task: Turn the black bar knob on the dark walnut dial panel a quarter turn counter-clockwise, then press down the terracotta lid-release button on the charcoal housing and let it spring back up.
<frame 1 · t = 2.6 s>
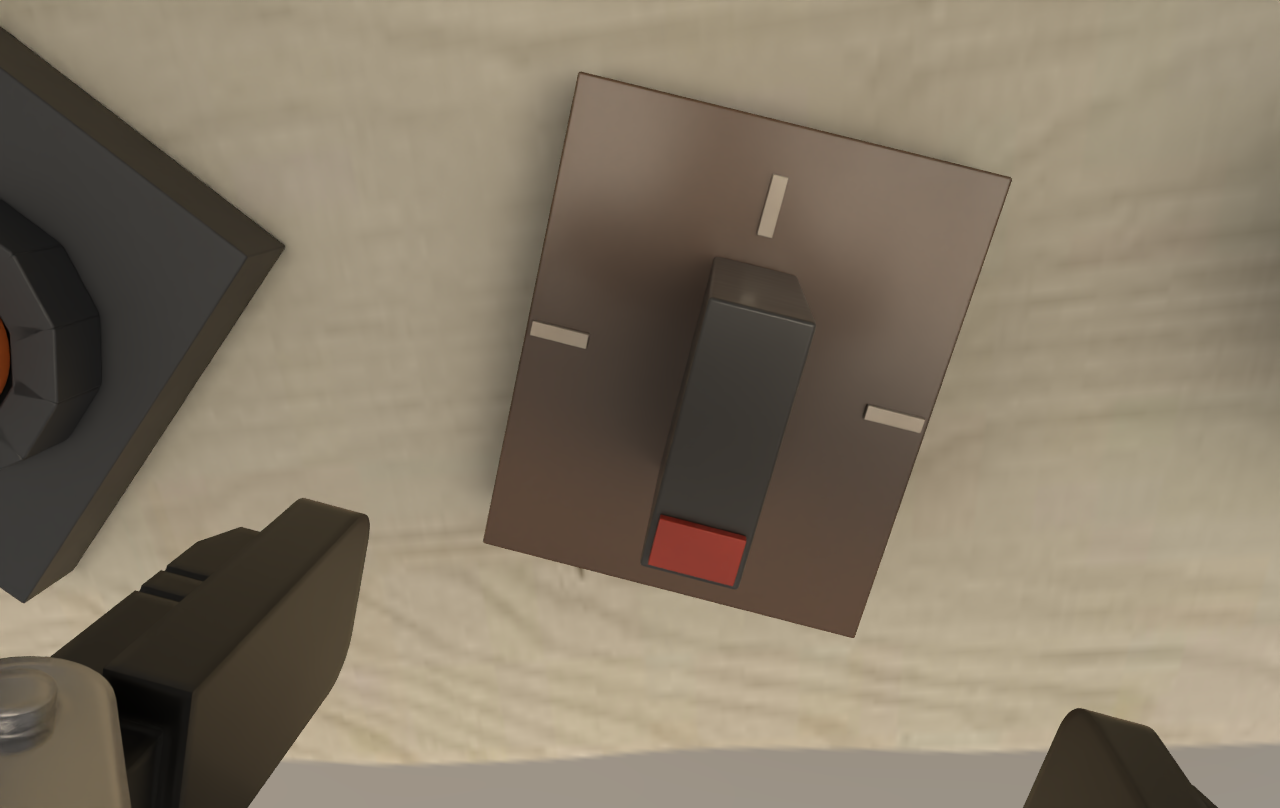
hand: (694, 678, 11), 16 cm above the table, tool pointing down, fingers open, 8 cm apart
dial panel: (727, 347, 26), on the table
dial knob: (725, 410, 20), point 6 cm above the table, hinge at 0.0°
button housing: (28, 312, 28), on the table
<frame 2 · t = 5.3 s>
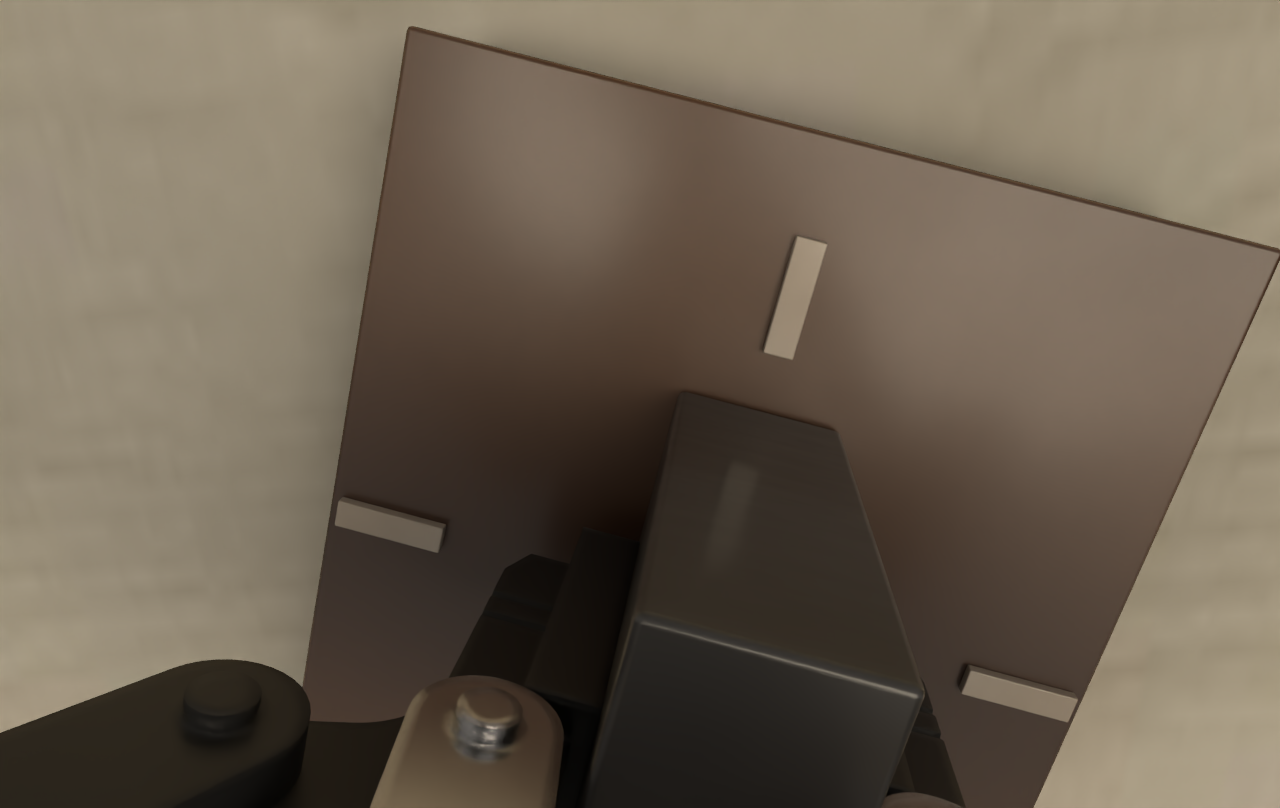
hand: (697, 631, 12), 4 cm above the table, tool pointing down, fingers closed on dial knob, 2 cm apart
dial panel: (708, 514, 15), on the table
dial knob: (692, 746, 10), point 6 cm above the table, hinge at 0.0°, touching gripper
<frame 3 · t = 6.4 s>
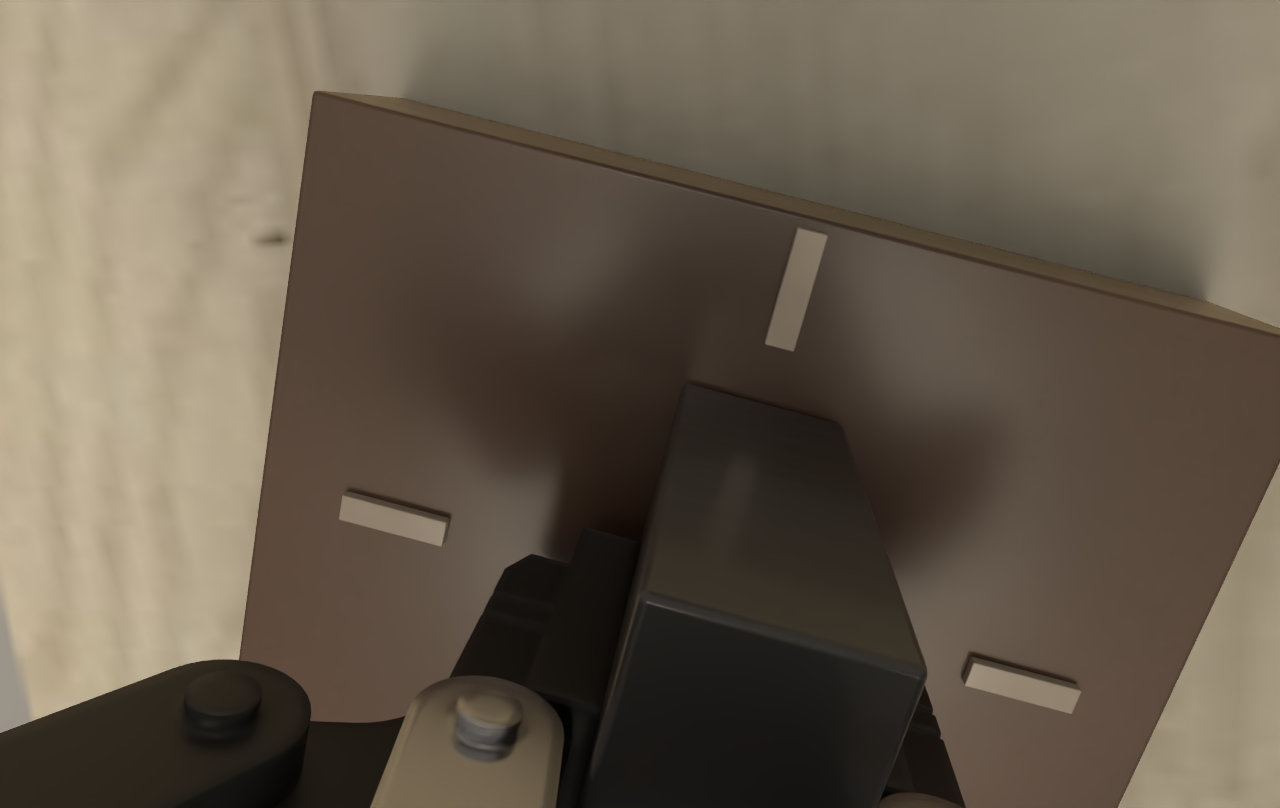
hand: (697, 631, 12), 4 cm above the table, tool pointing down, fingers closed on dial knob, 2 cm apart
dial panel: (711, 509, 15), on the table
dial knob: (695, 735, 10), point 6 cm above the table, hinge at 89.6°, touching gripper
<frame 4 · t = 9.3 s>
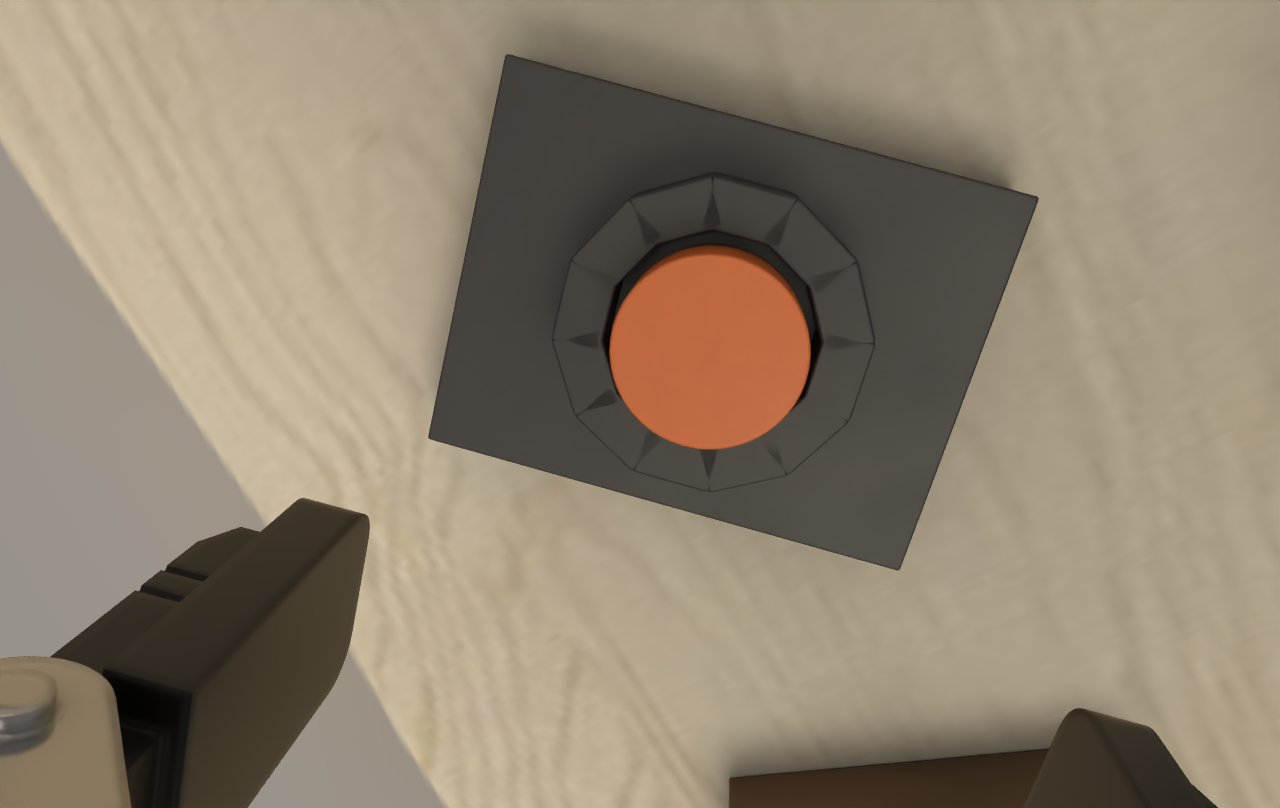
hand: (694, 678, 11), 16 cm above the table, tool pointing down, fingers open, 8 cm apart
release button: (710, 346, 22), point 4 cm above the table, slide at 0.1 cm
button housing: (715, 310, 26), on the table
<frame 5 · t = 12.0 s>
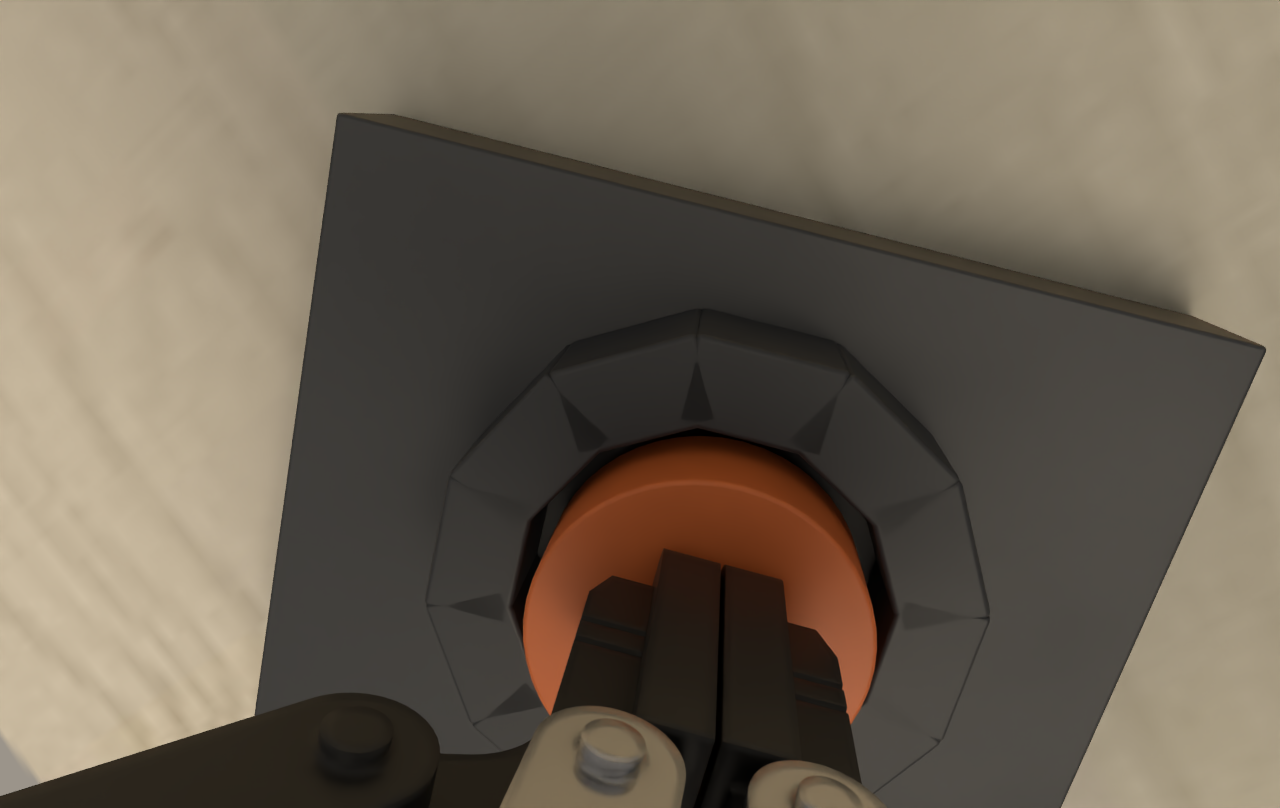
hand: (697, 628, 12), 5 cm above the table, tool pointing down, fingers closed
release button: (699, 612, 13), point 4 cm above the table, slide at -0.4 cm, touching gripper
button housing: (708, 499, 17), on the table
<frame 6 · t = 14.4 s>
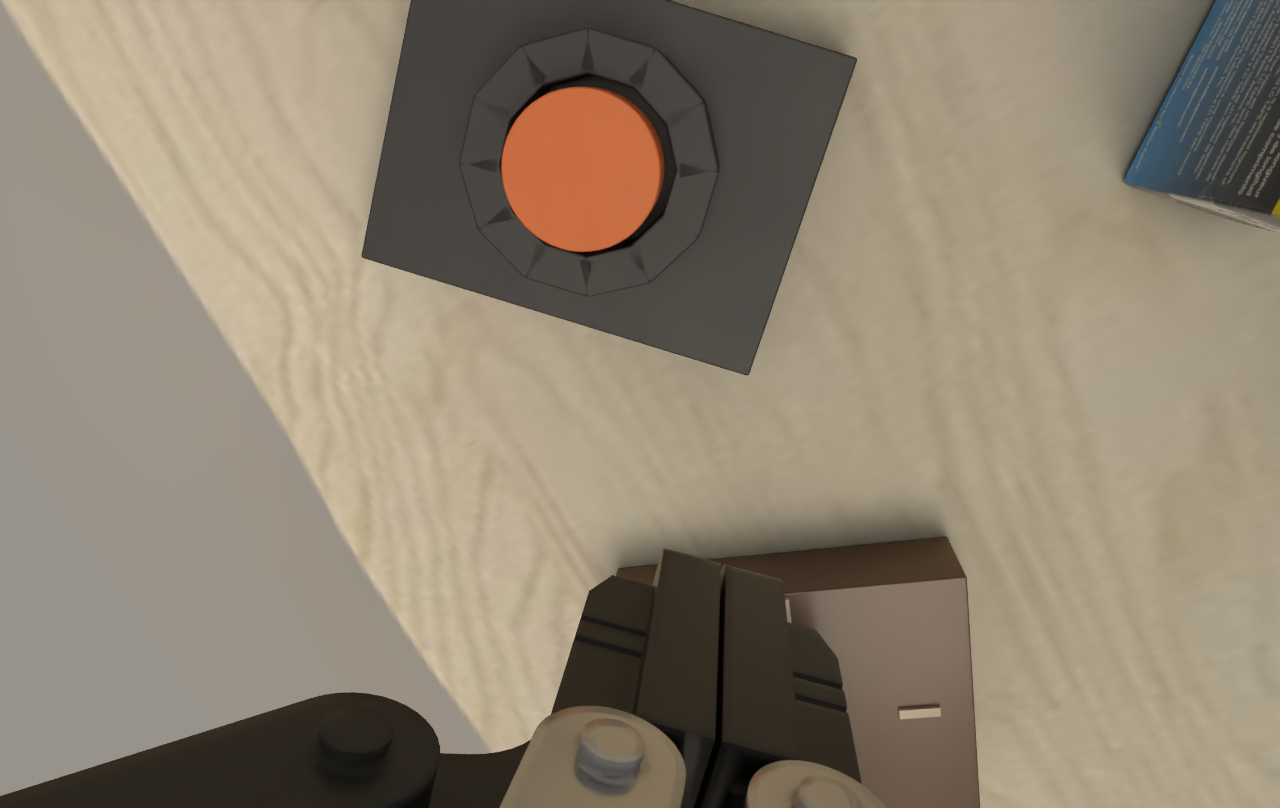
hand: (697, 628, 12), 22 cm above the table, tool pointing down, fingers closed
release button: (584, 169, 27), point 4 cm above the table, slide at 0.1 cm
dial panel: (793, 670, 36), on the table
ink cartridge box: (1246, 62, 29), on the table
button housing: (604, 158, 31), on the table
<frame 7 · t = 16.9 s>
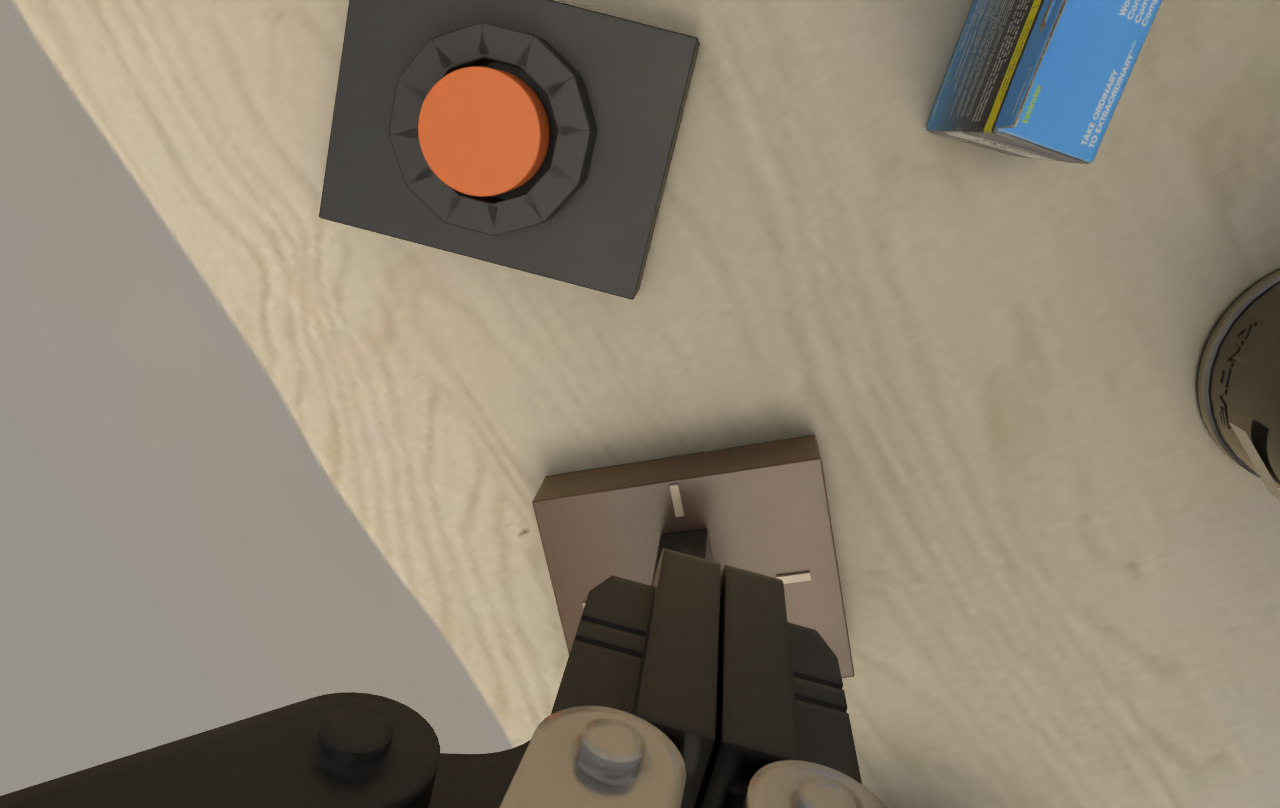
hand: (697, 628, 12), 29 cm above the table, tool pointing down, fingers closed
release button: (484, 132, 34), point 4 cm above the table, slide at 0.1 cm
dial panel: (697, 559, 43), on the table
ink cartridge box: (1014, 28, 36), on the table
dial knob: (692, 625, 38), point 6 cm above the table, hinge at 89.6°
button housing: (512, 131, 39), on the table
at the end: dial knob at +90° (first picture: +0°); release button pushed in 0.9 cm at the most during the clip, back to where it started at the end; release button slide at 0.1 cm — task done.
